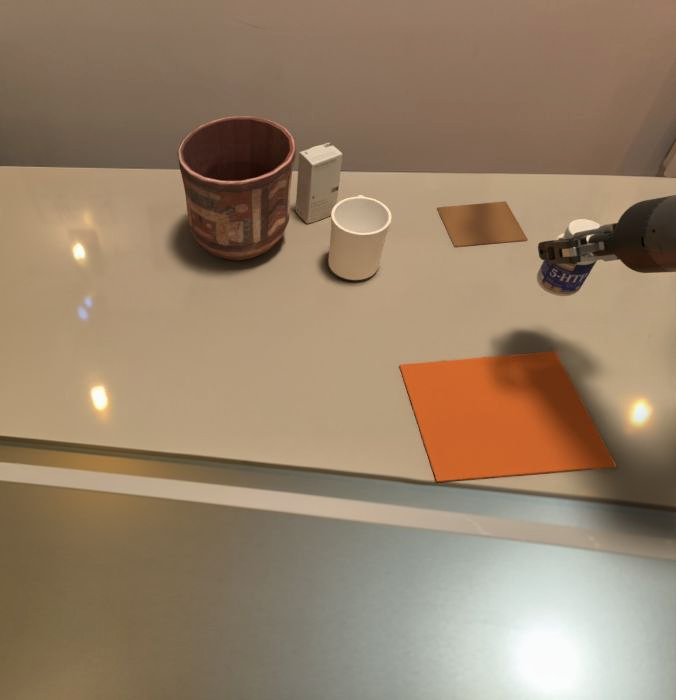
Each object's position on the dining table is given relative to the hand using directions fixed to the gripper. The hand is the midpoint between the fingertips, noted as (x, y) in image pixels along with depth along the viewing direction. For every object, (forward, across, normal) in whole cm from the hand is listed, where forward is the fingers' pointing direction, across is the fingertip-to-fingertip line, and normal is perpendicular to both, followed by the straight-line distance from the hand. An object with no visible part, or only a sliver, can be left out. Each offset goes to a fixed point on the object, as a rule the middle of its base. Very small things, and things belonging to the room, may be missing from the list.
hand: (563, 245), depth 76 cm
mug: (+27, +17, -3) cm, 32 cm away
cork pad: (+28, -6, -4) cm, 29 cm away
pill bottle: (+2, 0, +5) cm, 5 cm away
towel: (+3, +10, +20) cm, 23 cm away
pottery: (+34, +34, -11) cm, 49 cm away
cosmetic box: (+36, +19, -13) cm, 43 cm away
